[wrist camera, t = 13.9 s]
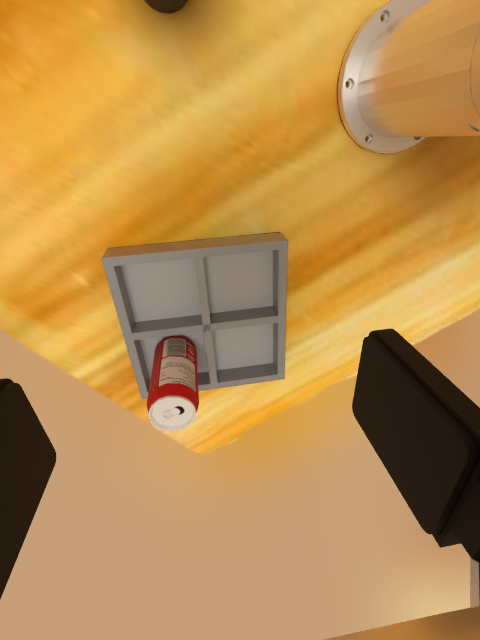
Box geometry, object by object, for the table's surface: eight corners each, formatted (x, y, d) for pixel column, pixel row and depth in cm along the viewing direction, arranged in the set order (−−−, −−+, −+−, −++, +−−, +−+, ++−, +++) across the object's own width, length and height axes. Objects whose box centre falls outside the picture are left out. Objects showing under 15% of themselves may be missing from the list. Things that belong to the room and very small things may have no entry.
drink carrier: (279, 232, 38) (287, 240, 35) (278, 363, 48) (284, 378, 45) (108, 248, 36) (101, 258, 33) (144, 382, 46) (141, 399, 43)
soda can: (164, 371, 45) (158, 441, 34) (148, 341, 42) (135, 407, 32) (201, 359, 45) (206, 425, 34) (187, 328, 42) (188, 390, 31)
